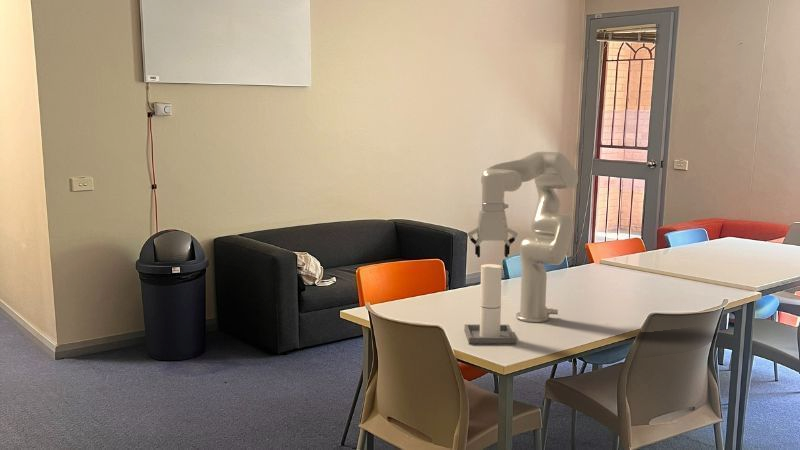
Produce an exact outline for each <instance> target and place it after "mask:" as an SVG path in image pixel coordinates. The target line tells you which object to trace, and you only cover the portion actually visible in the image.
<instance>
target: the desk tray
mask: <svg viewBox="0 0 800 450" xmlns="http://www.w3.org/2000/svg"><path fill="white" fill-rule="evenodd" d="M464 334H465V336H466V339H467V341H468V342H467V343H468V345H474V346H475V345H489V346H490V345H496V346H497V345H498V346H499V345H503V346H504V345H505V346H506V345H508V346H509V345H510V346H511V345H512V346H513V345H517V337H516V335H515V334H514V331H513V330H512V328H511V326H510V325H509V324H500V337H480V324H469V323H468V324H464Z"/></svg>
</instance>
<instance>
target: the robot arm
mask: <svg viewBox="0 0 800 450" xmlns="http://www.w3.org/2000/svg"><path fill="white" fill-rule="evenodd" d="M532 180H534V183H535V188H536V189H537V195H538V201H537V205H536V209H535V211H534V214H533V218H532V220H531V225H530V230H531V232H532V233H533V234H534V235H535V236H528V237H526V238H524V239H522V241H521V242H520V244H519V256H520V261H521V262H520V263H521V275H520V276H521V277H520V278H521V279H520V280H521V281H520V304H519V305H520V309H519V310H520V311H518V312H517V313H516V314H515V318H517V320H520V321H522V322H528V323H544V322H547V321H549V320H550V315H558V314H559V310H558V309H557V308H556V309H554V308H548V307H547V306H546V302H547V301H546V300H547V281H548V280H547V279H548V277H547V275H548V274H547V271H546V267H545V266H544V265H551V266H559V265H561V264H563V262H564V261H565V258H566V255H567V252H568V249H569V246H570V242H571V239H572V236H573V232H574V221H573V218H572V217H571V216H570V215H569V214H566V213H559V212H560V207H561V200H560V198H559V196H558V194H557V193H556V191H555V189H556V190H565V191H566V190H568V191H569V190H573V189H574V188H576V186H577V185H578V183H579V175H578V171H577V169H576V167H575V166H574V165H573V164H572V163H571V161H570V160H569V159H568V157H566V155H564V154H563V153H561V152H555V151H536V152H533V153H531V154H529V155H527V156H525V157H523V158H521V159H515V160H510V161H506V162H501V163H496V164H493V165H492V166H489V167H488V168H486V169H485V170H484V171H483V173H482V174H481V179H480V181H481V185H482V188H481V189H482V190H481V191H482V192H481V194H482V195H481V200H482V201H481V202H482V203H481V210H479V213H478V219H477V227H476V228H474V229H472V230H470V231H469V232H467V233H466V234H467V237H468V238H469V240H470V241H471V243H473V244H474V248H475V249H474V253H475V255H476V257H477V258H480V257H481V246H480V245H481V243H482V242H483V241H484V242H490V241H491V242H492V241H493V242H495V241H496V242H497V241H498V242H500V241H501V242H502V241H503V242H504V248H503V249H504V253H503V254H504V255H503V256H504V257H505V258H508V257H509V255H510V247H511V246H512V244H513V243H514V242H515V240H516V239H517V237H518V232H517V231H515V230H513V229H512V228H509V227H508V218H507V212H506V210H505V209H509V204H506V203H505V192H509V193H510V192H512V193H513V192H515V191H517V190H519V189H520V187H521V186H522V183H527V182H530V181H532ZM475 234H477V235H476V236H477V238H476V239H475V238H474V237H473V236H474V235H475ZM508 234H510V235H511V237H510V238H509V239H508V237H509V236H508ZM538 236H539V237H538ZM551 238H552V239H551ZM543 264H544V265H543Z"/></svg>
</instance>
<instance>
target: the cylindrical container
mask: <svg viewBox="0 0 800 450" xmlns="http://www.w3.org/2000/svg"><path fill="white" fill-rule="evenodd" d="M502 268H503V266H502V265H500V264H494V263H486V264H481V265H480V298H479V299H480V300H479V301H480V303H479V304H480V305H479V312H480V313H479V325H480V337H500V325H501V310H502V307H501V305H502V276H503V275H502V272H503V271H502V270H503V269H502Z"/></svg>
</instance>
